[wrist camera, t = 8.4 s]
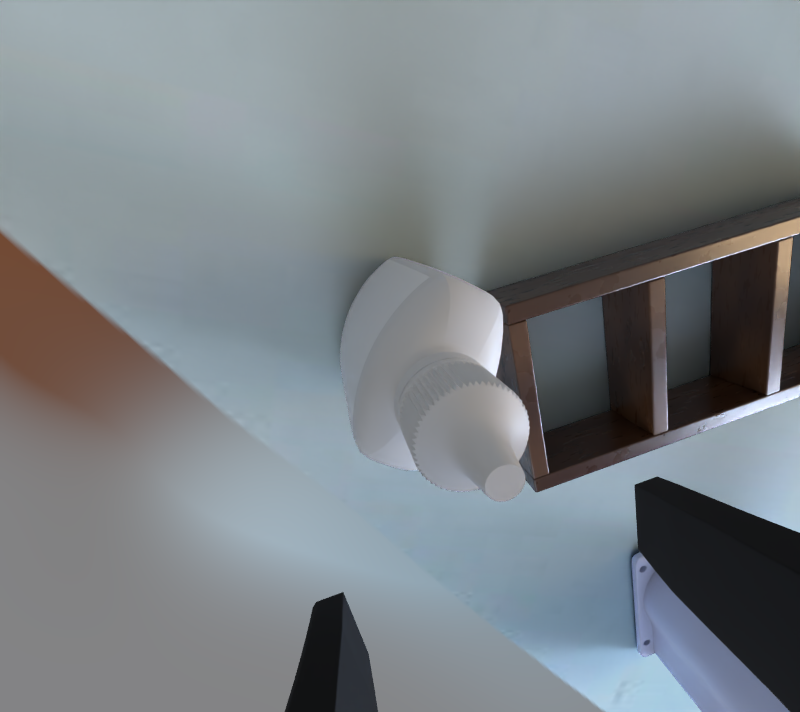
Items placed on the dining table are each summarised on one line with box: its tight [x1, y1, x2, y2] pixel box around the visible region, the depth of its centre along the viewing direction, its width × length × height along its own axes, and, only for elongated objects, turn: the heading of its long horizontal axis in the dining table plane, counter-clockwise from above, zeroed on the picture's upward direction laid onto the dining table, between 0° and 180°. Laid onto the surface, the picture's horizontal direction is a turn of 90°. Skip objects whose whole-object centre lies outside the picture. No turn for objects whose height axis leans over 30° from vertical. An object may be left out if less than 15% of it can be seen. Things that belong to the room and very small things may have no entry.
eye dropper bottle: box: [340, 257, 530, 502], centre depth 12 cm, size 4×6×12 cm
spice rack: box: [487, 197, 800, 492], centre depth 19 cm, size 9×19×3 cm, turn 105°
